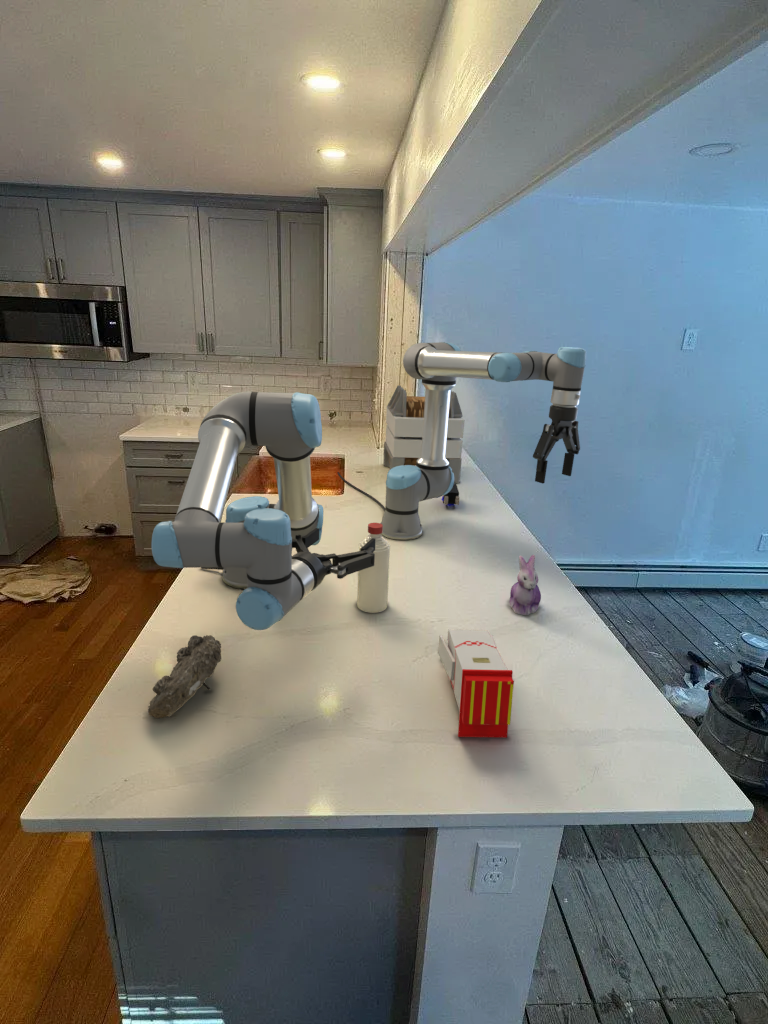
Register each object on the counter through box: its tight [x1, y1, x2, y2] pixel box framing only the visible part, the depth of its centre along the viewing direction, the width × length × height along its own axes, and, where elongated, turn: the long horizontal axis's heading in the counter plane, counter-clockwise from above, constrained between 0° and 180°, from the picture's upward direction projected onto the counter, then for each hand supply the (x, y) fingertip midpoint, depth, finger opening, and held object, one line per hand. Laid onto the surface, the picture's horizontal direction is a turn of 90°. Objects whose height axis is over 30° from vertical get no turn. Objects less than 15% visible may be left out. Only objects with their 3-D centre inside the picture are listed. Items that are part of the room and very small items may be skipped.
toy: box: [437, 628, 515, 738], centre depth 117 cm, size 12×13×30 cm
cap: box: [367, 522, 383, 535], centre depth 144 cm, size 4×4×2 cm
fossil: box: [147, 634, 222, 719], centre depth 114 cm, size 22×10×15 cm
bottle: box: [356, 533, 391, 614], centre depth 148 cm, size 8×8×22 cm
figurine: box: [508, 554, 542, 616], centre depth 151 cm, size 9×10×15 cm
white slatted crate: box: [383, 384, 465, 484], centre depth 268 cm, size 34×33×41 cm
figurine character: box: [441, 483, 460, 509], centre depth 231 cm, size 7×8×15 cm
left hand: (345, 538), depth 125 cm, fingers open, 13 cm apart
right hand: (553, 478), depth 165 cm, fingers open, 13 cm apart
